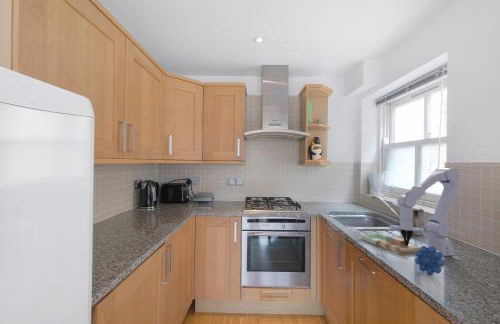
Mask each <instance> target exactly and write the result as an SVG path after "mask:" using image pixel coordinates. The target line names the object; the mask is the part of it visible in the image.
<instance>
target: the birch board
mask: <svg viewBox="0 0 500 324" xmlns="http://www.w3.org/2000/svg"><path fill="white" fill-rule="evenodd" d="M377 246H378V247H380V246H381V247H380V248H383V249H386V250H387V251H390V252H392V253H395V254H398V255H400V256H406V255H416V254H415V253H416V251H417V250H420V248H421V247H422V246H417V245H416V244H415V245H414V244H413V243H412V244H411V243H409V244H408V246H399V245H397V244H394V243H391V242H388V241H386V239H385V240H378V245H377ZM420 251H421V250H420Z"/></svg>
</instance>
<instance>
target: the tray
mask: <svg viewBox="0 0 500 324" xmlns="http://www.w3.org/2000/svg"><path fill="white" fill-rule="evenodd" d="M386 236H387V235H384V234H382V233H366V234H360V236H359V237H360V238H361V239H360V240H362V239H363V240H362V241H364V240H365V242H367V241H368V242H367V243H369V242H370V243H369V244H371V243H372V245H374V246H378V240H385V239H386Z"/></svg>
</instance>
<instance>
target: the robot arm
mask: <svg viewBox="0 0 500 324" xmlns="http://www.w3.org/2000/svg"><path fill="white" fill-rule="evenodd" d="M460 178H461V174H460V172H459V171H458V169H456V168H454V167H450V168H449V167H447V168H446V167H445V168H444V167H438V168H437V167H436V168H435V169H434V170H433V171H432V172H431V174H430V175H429V176H427V177H426V178H425V180H424V181H423V182H422V183H421V184H419V185H415V186H414V185H413V186H412V187H411V189H410V190H408V191H406V192H404V194H402V195H400V196H399V197H398V198H397V200H396V201H397V204H398V206H399V225H389V226H390V227H389V228H390V231H391V230H392V231H399V232H400V233H401V236H402V238H403V239H404V241H405V246H408V244H410V241H411V238H412V237H413V235H414V234H413V232H419V233H423V234H424V233H425V231H426V234H427V247H429V246H433V247H435V248H436V251H439V252H441V253H442V255H443V256H442V257H447V256H448V257H449V256H453V255H454V254H453V253H452V251H453V248H452V240H451V239H450V238H448V237H447V236H448V235H449V232H450V229H449V228H450V223H449V221H448V220H447V219H448V217H449V214H450V211H451V208H452V205H453V203H454V201H455V198H456V194H457V192H458V190H459V187H460V185H459V183H460V182H459V180H460ZM437 182H439V183H440V184H441V185H442V186H443V189H442V192H441V194H440V197H439V200H438V203H437V206H436V208H435V210H434V212H433V214H432V215H430V216H429V217H428V218H427V220H426V221H425V222H424V223H423V229H421V228H415V227H413V209H414V207H415V206H416V205H417V201H418V200H419V199H421V197H423V196H424V195H425V194H426V190H428V189H429V188H430V187H431V186H432V187H433V185H435V184H436V183H437ZM424 230H425V231H424ZM406 231H407V233H406ZM406 240H407V241H406Z"/></svg>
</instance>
